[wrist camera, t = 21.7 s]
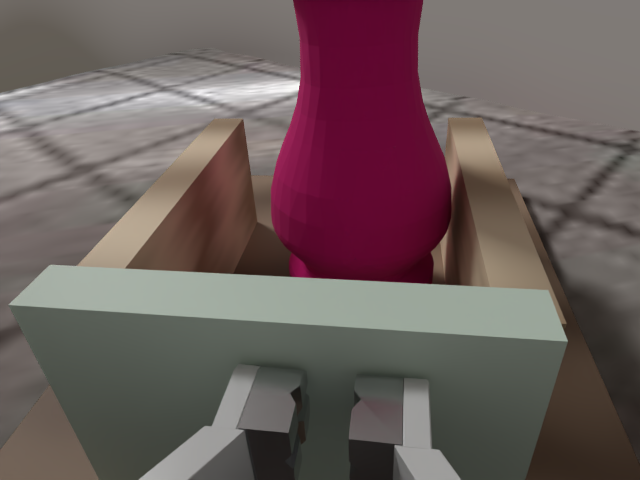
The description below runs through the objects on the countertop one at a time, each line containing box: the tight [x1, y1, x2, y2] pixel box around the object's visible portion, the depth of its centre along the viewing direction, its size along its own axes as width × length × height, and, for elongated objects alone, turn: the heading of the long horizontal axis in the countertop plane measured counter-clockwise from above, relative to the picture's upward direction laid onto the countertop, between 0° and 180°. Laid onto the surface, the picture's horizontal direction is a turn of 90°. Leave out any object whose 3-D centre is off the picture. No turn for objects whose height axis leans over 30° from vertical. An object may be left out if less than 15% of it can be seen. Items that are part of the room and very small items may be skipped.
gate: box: [9, 265, 568, 480], centre depth 12 cm, size 2×12×7 cm, turn 81°
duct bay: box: [0, 118, 640, 480], centre depth 21 cm, size 24×20×7 cm
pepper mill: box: [271, 0, 452, 284], centre depth 17 cm, size 7×7×20 cm
